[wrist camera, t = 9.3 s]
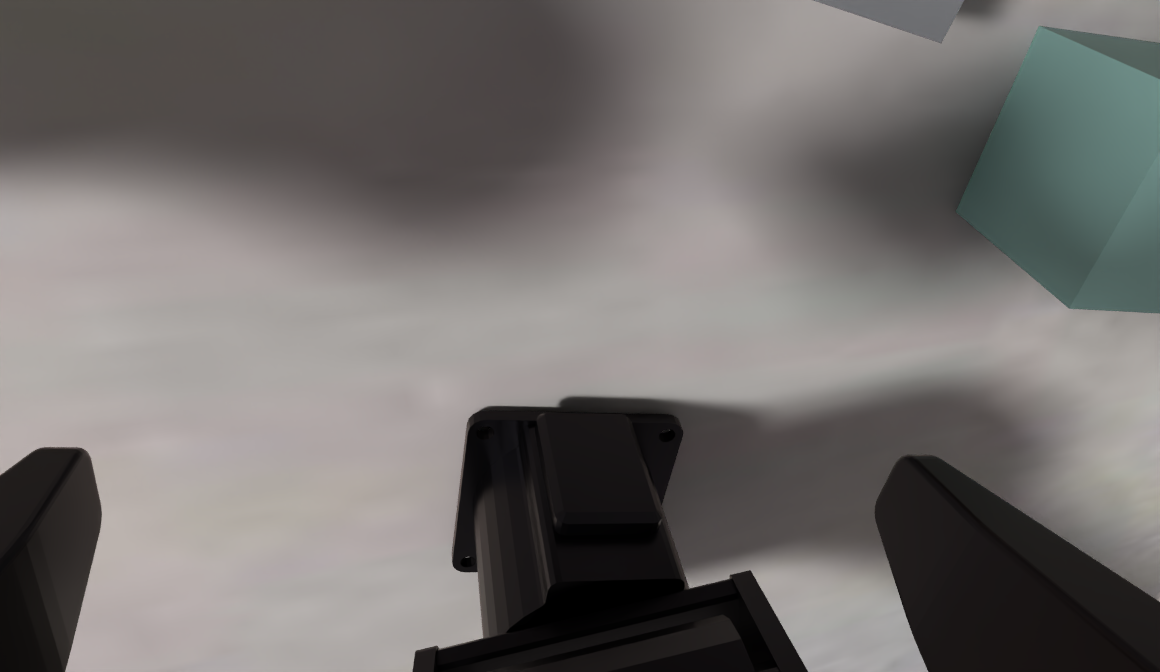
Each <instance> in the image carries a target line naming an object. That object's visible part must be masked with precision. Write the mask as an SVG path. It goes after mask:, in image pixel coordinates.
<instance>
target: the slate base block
mask: <svg viewBox="0 0 1160 672" xmlns="http://www.w3.org/2000/svg"><path fill="white" fill-rule="evenodd" d="M814 1H817V2H820V3H823V4H826V5H829V6H832V7H835V8H838V9H841V10H844V11H847V12H850V13H853V14H856V15H859V16H862V17H865V18H868V19H870V20H873V21H876V22H879V23H882V24H885V25H888V26H891V27H894V28H897V29H900V30H903V31H906V32H909V33H912V34H915V35H918V36H921V37H924V38H927V39H930V40H933V41H936V42H939V43H942V41H943V39H944V37H945V35H946V33H947V32H948V30H949V28H950V26H951V24H952V22H953V20H954V19H955V17H956V15H957V13H958V11H959V9H960V7H961V5H962V4H963V2H964V0H814Z"/></svg>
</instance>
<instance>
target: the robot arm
mask: <svg viewBox="0 0 1160 672" xmlns="http://www.w3.org/2000/svg"><path fill="white" fill-rule="evenodd" d="M484 426H488V427H491V428H490V429H489V430H485V431H482V430H479V428H481V427H484ZM667 429H670V431H668V432H667V433H661V432H662V431H664V430H667ZM682 437H683V430H682V427H681V425H680V422H679V420H678V419H677V418H676V417H675V416H673V415H668V414H622V413H574V412H525V411H480V412H477V413H475V414H473V415H472V416H471V417H470V418H469V420H468V422H467V428H466V436H465V445H464V454H463V462H462V471H461V479H460V488H459V496H458V505H457V513H456V522H455V530H454V539H453V547H452V563H453V567H454V568H455V569H456V570H458V571H460V572H478V582H479V594H480V606H481V617H482V629H483V639H479V640H474V641H470V642H466V643H462V644H458V645H454V646H450V647H445V648H441V649H439V648H438V646H434V647H430V648H426V649H421V650H417V651H416V652H415V658H414V666H413V672H808V671H807V669H806V667H805V666H804V664H803V662H802V660H801V658H800V657H799V655H798V653H797V651H796V650H795V648H794V646H793V644H792V643H791V641H790V639H789V637H788V636H787V634H786V632H785V630H784V628H783V627H782V625H781V623H780V621H779V620H778V618H777V616H776V614H775V613H774V611H773V609H772V607H771V606H770V604H769V602H768V600H767V598H766V597H765V595H764V593H763V591H762V590H761V588H760V586H759V584H758V583H757V581H756V579H755V577H754V576H753V574H752V572H751V571H750V570H749V571H745V572H741V573H737V574H732V575H730V579H727V580H723V581H719V582H715V583H711V584H707V585H702V586H698V587H694V588H690V589H689V586H688V583H687V580H686V577H685V574H684V571H683V568H682V565H681V562H680V559H679V556H678V553H677V550H676V547H675V544H674V541H673V538H672V535H671V532H670V529H669V526H668V523H667V520H666V517H665V514H664V511H663V508H662V502H663V499H664V496H665V492H666V489H667V486H668V482H669V479H670V476H671V473H672V469H673V466H674V463H675V460H676V456H677V453H678V450H679V447H680V443H681V440H682ZM101 518H102V511H101V503H100V498H99V494H98V489H97V484H96V480H95V475H94V471H93V466H92V461H91V458H90V456H89V454H88V452H87V451H86V450H84V449H82V448H78V447H44V448H39V449H37V450H35V451H33V452H31V453H30V454H29V455H27V456H26V457H24V458H23V459H22V460H20V461H19V462H18V463H16V464H15V465H14V466H12V467H11V468H10V469H8V470H7V471H5V472H4V473H3V474H1V475H0V672H65V670H66V667H67V663H68V659H69V655H70V652H71V648H72V644H73V639H74V635H75V631H76V627H77V623H78V619H79V615H80V611H81V607H82V602H83V598H84V594H85V590H86V586H87V582H88V578H89V574H90V570H91V565H92V561H93V557H94V553H95V549H96V545H97V541H98V537H99V533H100V528H101ZM875 519H876V524H877V527H878V530H879V533H880V536H881V539H882V542H883V546H884V549H885V552H886V555H887V558H888V561H889V564H890V567H891V570H892V574H893V577H894V580H895V583H896V586H897V589H898V592H899V595H900V598H901V601H902V605H903V608H904V611H905V614H906V617H907V620H908V623H909V625H910V628H911V631H912V634H913V636H914V639H915V641H916V644H917V646H918V649H919V651H920V654H921V656H922V658H923V660H924V663H925V665H926V667H927V670H928V672H1160V602H1159V601H1157V600H1156V599H1154V598H1153V597H1151V596H1150V595H1148V594H1147V593H1145V592H1144V591H1142V590H1141V589H1139V588H1138V587H1136V586H1134V585H1133V584H1131V583H1130V582H1128V581H1127V580H1125V579H1124V578H1122V577H1121V576H1119V575H1118V574H1116V573H1115V572H1113V571H1111V570H1110V569H1108V568H1107V567H1105V566H1104V565H1102V564H1101V563H1099V562H1098V561H1096V560H1095V559H1093V558H1092V557H1090V556H1088V555H1087V554H1085V553H1084V552H1082V551H1081V550H1079V549H1078V548H1076V547H1075V546H1073V545H1072V544H1070V543H1069V542H1067V541H1066V540H1064V539H1062V538H1061V537H1059V536H1058V535H1056V534H1055V533H1053V532H1052V531H1050V530H1049V529H1047V528H1046V527H1044V526H1043V525H1041V524H1039V523H1038V522H1036V521H1035V520H1033V519H1032V518H1030V517H1029V516H1027V515H1026V514H1024V513H1023V512H1021V511H1020V510H1018V509H1016V508H1015V507H1013V506H1012V505H1010V504H1009V503H1007V502H1006V501H1004V500H1003V499H1001V498H1000V497H998V496H997V495H995V494H994V493H992V492H990V491H989V490H987V489H986V488H984V487H983V486H981V485H980V484H978V483H977V482H975V481H974V480H972V479H971V478H969V477H967V476H966V475H964V474H963V473H961V472H960V471H958V470H957V469H955V468H954V467H952V466H951V465H949V464H948V463H946V462H944V461H943V460H941V459H940V458H938V457H936V456H932V455H905V456H902V457H901V458H900V459H898V460H897V462H896V463H895V465H894V467H893V469H892V471H891V473H890V475H889V477H888V479H887V481H886V483H885V485H884V487H883V489H882V491H881V493H880V495H879V497H878V499H877V501H876V505H875ZM465 557H468V558H465Z"/></svg>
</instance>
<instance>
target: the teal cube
mask: <svg viewBox="0 0 1160 672" xmlns="http://www.w3.org/2000/svg"><path fill="white" fill-rule="evenodd" d="M956 213H958V214H959V215H960V216H961V217H962V218H964V219H965V220H966V221H967V222H968V223H969V224H971V225H972V226H973V227H974V228H975V229H976V230H978V231H979V232H980V233H981V234H982V235H983V236H985V237H986V238H987V239H988V240H989V241H991V242H992V243H993V244H994V245H995V246H996V247H998V248H999V249H1000V250H1001V251H1002V252H1003V253H1005V254H1006V255H1007V256H1008V257H1009V258H1010V259H1012V260H1013V261H1014V262H1015V263H1016V264H1018V265H1019V266H1020V267H1021V268H1022V269H1023V270H1025V271H1026V272H1027V273H1028V274H1029V275H1030V276H1032V277H1033V278H1034V279H1035V280H1036V281H1037V282H1039V283H1040V284H1041V285H1042V286H1043V287H1044V288H1046V289H1047V290H1048V291H1049V292H1050V293H1052V294H1053V295H1054V296H1055V297H1056V298H1057V299H1059V300H1060V301H1061V302H1062V303H1063V304H1064V305H1066V306H1067V307H1068V308H1069V309H1088V310H1106V311H1125V312H1144V313H1160V43H1155V42H1148V41H1141V40H1134V39H1127V38H1120V37H1113V36H1106V35H1099V34H1092V33H1085V32H1078V31H1071V30H1064V29H1057V28H1050V27H1043V26H1039V27H1038V30H1037V32H1036V34H1035V36H1034V38H1033V41H1032V43H1031V45H1030V47H1029V50H1028V52H1027V54H1026V56H1025V58H1024V61H1023V63H1022V65H1021V67H1020V70H1019V72H1018V74H1017V76H1016V78H1015V81H1014V83H1013V85H1012V87H1011V90H1010V92H1009V94H1008V96H1007V99H1006V101H1005V103H1004V105H1003V107H1002V110H1001V112H1000V114H999V116H998V119H997V121H996V123H995V125H994V127H993V130H992V132H991V134H990V136H989V139H988V141H987V143H986V145H985V147H984V150H983V152H982V154H981V156H980V159H979V161H978V163H977V165H976V167H975V170H974V172H973V174H972V176H971V179H970V181H969V183H968V185H967V187H966V190H965V192H964V194H963V196H962V199H961V201H960V203H959V205H958V207H957V210H956Z"/></svg>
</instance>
